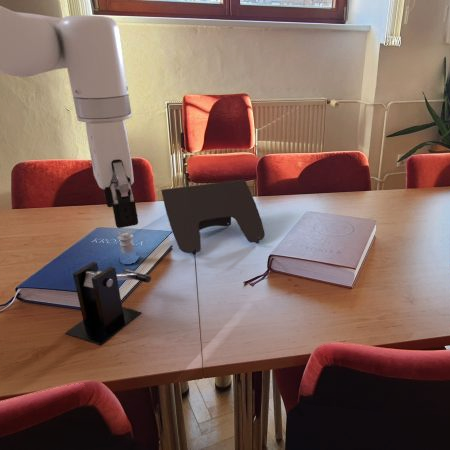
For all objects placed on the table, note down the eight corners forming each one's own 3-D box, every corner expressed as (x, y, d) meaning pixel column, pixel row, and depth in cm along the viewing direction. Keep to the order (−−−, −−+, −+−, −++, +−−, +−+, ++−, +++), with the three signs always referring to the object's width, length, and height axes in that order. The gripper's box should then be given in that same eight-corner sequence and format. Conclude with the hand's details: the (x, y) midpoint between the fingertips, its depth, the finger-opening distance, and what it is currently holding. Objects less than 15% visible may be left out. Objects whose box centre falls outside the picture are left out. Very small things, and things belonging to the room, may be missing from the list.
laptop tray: (178, 276, 107) (178, 253, 101) (161, 207, 120) (160, 183, 114) (267, 259, 116) (272, 237, 109) (242, 196, 129) (246, 173, 122)
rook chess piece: (141, 259, 103) (136, 228, 100) (138, 268, 99) (133, 236, 96) (121, 260, 102) (116, 229, 99) (117, 270, 98) (111, 237, 95)
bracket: (108, 307, 85) (98, 253, 80) (142, 317, 82) (133, 261, 78) (66, 338, 77) (51, 279, 72) (102, 350, 74) (89, 289, 69)
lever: (125, 278, 87) (127, 266, 87) (150, 285, 85) (152, 272, 85) (75, 283, 75) (77, 269, 75) (102, 290, 73) (104, 276, 73)
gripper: (70, 102, 70) (91, 202, 77) (81, 120, 57) (104, 240, 64) (120, 98, 74) (135, 195, 81) (141, 115, 60) (157, 229, 67)
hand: (122, 215), depth 72 cm, fingers open, 9 cm apart
